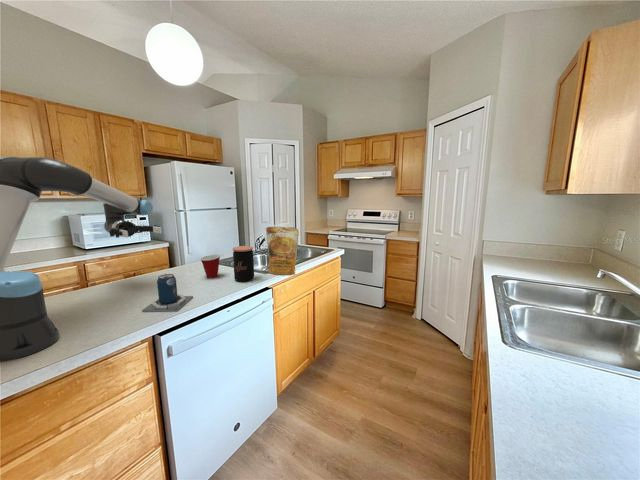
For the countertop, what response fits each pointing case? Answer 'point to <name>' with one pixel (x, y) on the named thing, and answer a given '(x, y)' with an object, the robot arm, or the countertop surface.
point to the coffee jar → (243, 263)
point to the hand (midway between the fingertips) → (144, 232)
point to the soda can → (167, 289)
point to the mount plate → (172, 307)
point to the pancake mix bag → (282, 249)
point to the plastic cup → (211, 265)
